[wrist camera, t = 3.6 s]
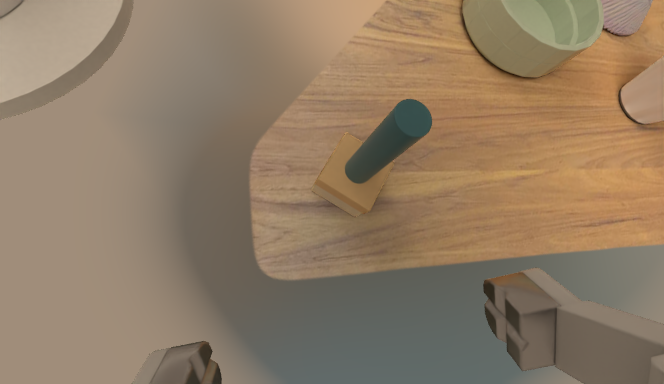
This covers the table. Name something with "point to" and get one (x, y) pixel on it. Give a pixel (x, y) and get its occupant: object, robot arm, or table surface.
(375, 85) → the table surface
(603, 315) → the robot arm
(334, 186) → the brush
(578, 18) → the bowl
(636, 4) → the seashell
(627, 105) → the cup
